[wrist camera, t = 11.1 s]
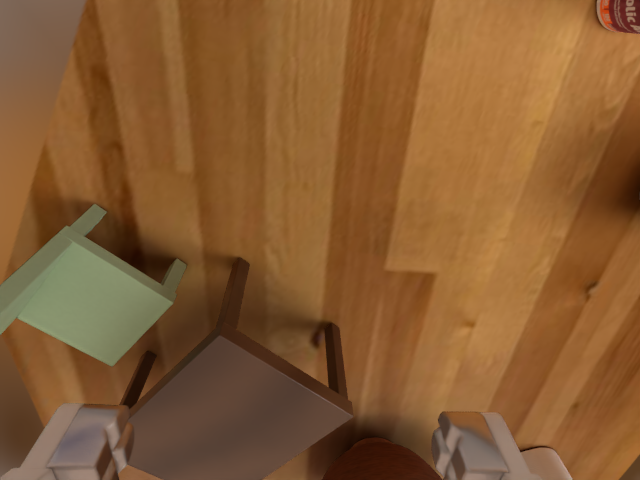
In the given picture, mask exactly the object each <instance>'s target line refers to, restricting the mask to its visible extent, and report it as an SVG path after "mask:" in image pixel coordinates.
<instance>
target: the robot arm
mask: <svg viewBox="0 0 640 480" xmlns="http://www.w3.org/2000/svg"><path fill="white" fill-rule="evenodd" d="M129 416H130V411H129V407H128V405H104V404H82V403H63V404H62V405H61V406H60V407H59V408H58V409H57V410H56V411H55V413H54V414H53V416H52V417H51V419H50V421H49V422H48V424H47V425H46V427H45V429H44V430H43V432H42V433H41V435H40V436H39V438H38V440H37V441H36V443H35V445H34V446H33V448H32V449H31V451H30V452H29V454H28V456H27V457H26V459H25V460H24V462H23V463H22V465H21V467H20V468H12V469H11V470H10V471H8V472H7V473H6V474H4V475H3V476H2V477H0V480H119V477H118V473H119V472H120V471H121V470H122V469H123V468H125V467H126V466H127V465H128V462H129V459H130V457H131V454H132V450H133V445H134V437H135V432H134V427H133V425H132V424H131V423H129V422H128V419H129ZM438 422H439V425H440V427H439V428H438V429H436V430H435V431H434V433H433V437H432V455H433V460H434V464H435V467H436V469H437V470H438V471H439V472H440V473H441V474H442V475H443V476H444V479H443V480H543V479H542V478H541V477H540V476H539V475H538V474H535V473H530V471H529V469H528V467H527V465H526V463H525V461H524V459H523V457H522V455H521V453H520V451H519V449H518V447H517V445H516V443H515V441H514V439H513V437H512V435H511V433H510V431H509V429H508V427H507V425H506V423H505V421H504V419H503V417H502V416H501V415H500V414H499V413H493V412H480V413H479V412H442V413H441V414H440V416H439V419H438Z"/></svg>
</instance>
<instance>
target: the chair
mask: <svg viewBox="0 0 640 480" xmlns="http://www.w3.org/2000/svg"><path fill="white" fill-rule="evenodd" d="M106 213H107V212H106V211H105V210H103V209H102V208H100V207H99V206H97V205H96V204H94V205H92V206H91V207H90V208H89V209H88V210H87V211H86V212H85V213H84V214H83V215H82V216H81V217H79V218H78V219H77V220H76V221H75V222H74V223H73V224H72V225H71V226H70V227H68V226H67V225H66V226H65V227H64V228H63V229H62V230H60V231H59V232H58V234H56V235H55V236H54V237H53V238H52V239H51V240H50V241H48V242H47V243H46V244H45V245H44V246H43V247H42V248H41V249H40V250H38V251H37V252H36V253H35V254H34V255H33V256H32V257H31V258H30V259H29V260H27V261H26V262H25V263H24V264H23V265H22V266H21V267H20V268H19V269H17V270H16V271H15V272H14V273H13V274H12V275H11V276H10V277H9V278H7V279H6V280H5V281H4V282H3V283H2V284H1V285H0V335H1V334H2V332H3V331H4V330H5V329H6V328H7V327H8V326H9V325H10V324H11V323H12V322H13V321H14V320H15V319H16V318H18V319H20V320H21V321H23V322H25V323H27V324H29V325H31V326H33V327H35V328H37V329H39V330H41V331H43V332H45V333H47V334H49V335H51V336H53V337H55V338H57V339H59V340H61V341H63V342H65V343H67V344H69V345H70V346H72V347H74V348H76V349H78V350H80V351H82V352H84V353H86V354H88V355H90V356H92V357H94V358H96V359H98V360H100V361H102V362H104V363H106V364H108V365H110V366H113V365H114V364H115V363H116V362H117V361H118V360H119V359H120V358H121V357H122V356H123V355H124V354H125V353H126V352H127V351H128V350H129V349H130V348H131V347H132V346H133V345H134V344H135V343H136V342H137V341H138V339H139V338H140V337H141V336H142V335H143V334H144V333H145V332H146V331H147V330H148V329H149V328H150V327H151V326H152V325H153V324H154V323H155V322H156V321H157V320H158V319H159V318H160V317H161V316H162V315H163V314H164V313H165V311H166V310H167V309H168V308H169V307H170V306H171V305H172V304H173V303H174V301H175V299H176V296H177V294H176V293H175V291H176V289H177V287H178V285H179V282H180V280H181V278H182V276H183V274H184V271H185V269H186V267H187V265H186V264H185V263H183V262H182V261H180V260H179V259H176V260H175V261H174V262H173V263H172V264H171V265H170V267H169V269H168V271H167V272H166V274H165V276H164V278H163V280H162V282H161V284H160V283H158V282H156V281H155V280H153V279H152V278H150V277H148V276H147V275H145V274H144V273H142V272H140V271H139V270H137V269H136V268H134V267H132V266H131V265H129V264H128V263H126V262H124V261H123V260H121V259H120V258H118V257H116V256H115V255H113V254H112V253H110V252H108V251H107V250H105V249H104V248H102V247H100V246H99V245H97V244H96V243H94V242H92V241H91V240H89V239H88V238H86V237H85V236H86V235H87V234H88V233H89V232H90V231H91V230H92V229H93V228H94V227H95V226H96V225H97V224H98V223H99V222H100V221H101V219H102V218H103V217H104V215H105V214H106Z"/></svg>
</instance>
